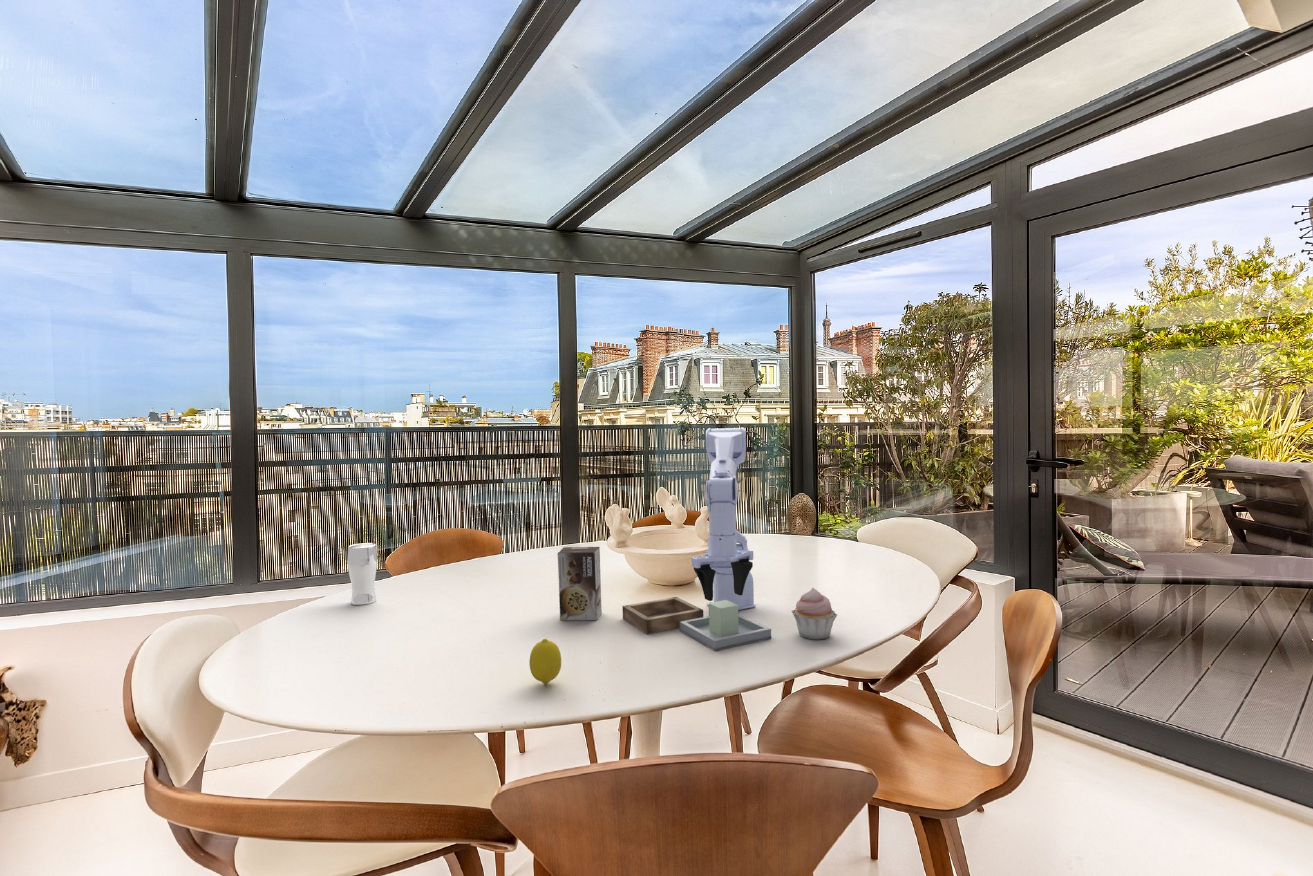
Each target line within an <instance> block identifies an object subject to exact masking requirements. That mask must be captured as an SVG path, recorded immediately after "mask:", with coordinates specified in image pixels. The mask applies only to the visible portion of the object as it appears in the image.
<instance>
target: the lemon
mask: <svg viewBox="0 0 1313 876" xmlns="http://www.w3.org/2000/svg"><path fill="white" fill-rule="evenodd" d="M529 655H530V656H529V661H528V662H529V669H530V674H531V675H532V677H533V678H534V679H535V680H537V681H538V682H541V683H542V684H544V685H548V684H549V683H550V682H551V681H553V680H554V679H556V678H557V677H558V675H559V674H560V671H561V669H562V655H561V651H560V648H559V646H558V645H557V644H556V643H555V642H553V641H551V640H549V639H547V638H543V639H542V640H541V641H538V642H537V643H536V644H535V645H534V646H533V647H532V649H531V651H530V654H529Z"/></svg>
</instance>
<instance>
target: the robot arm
mask: <svg viewBox="0 0 1313 876" xmlns="http://www.w3.org/2000/svg"><path fill="white" fill-rule="evenodd" d="M746 431H747V430H746V429H745V428H744V427H743V426H742V427H735V428H732V427H730V428H729V427H727V428H711V427H708V428H707V429H706V430H705V449H706V450H705V451H706V454H707V459H708V461H709V463H710V470H709V471H710V472H709V480H706V482H705V498H706V499H705V500H706V503H707V504H706V505H707V513H708V530H709V531H708V533H709V534H708V536H709V537H708V539H707V547H706V549H707V550H706V553H705V554H702V555H699V556H698V555H697V556H692V557H691V567H692V568H693V571H694V573H695V574H696V576H697V578H698V580H699V582H700V585H701V589H702V592H703V596H704V599H705V600H706V601H709V602H707V603H706V605H707V606H709V603H712V602H718V601H723V600H727V601H730V602H732V603H734V604H737V605H738V611H739V610H740V611H741V610H745V609H752V608H756V606H757V605H756V604H755V603H754V602H755V601H754V600H755V599H754V596H755V595H754V592H755V591H754V578H753V575H752V573H751V570H752V569H753V567H754V565H753V562H752V561H753V560H754V550H751V549H749V548H748V540H747V538H746V536H745V535H743V534H742V533H741V532H740V531H738V530H737V517H736V516H737V514H736V513H737V511H736V510H737V508H736V507H737V502H738V495H739V494H738V480H737V470H738V466H739V465H740V464H743V463H745V459H746V457H747V455H746V451H747V438H746V437H747V435H746V434H747V433H746Z"/></svg>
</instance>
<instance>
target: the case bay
mask: <svg viewBox="0 0 1313 876" xmlns="http://www.w3.org/2000/svg"><path fill="white" fill-rule="evenodd" d="M673 612H674V613H673ZM667 613H668V614H667ZM659 614H664V615H659ZM655 615H657V616H655ZM648 616H651V617H648ZM652 616H653V617H652ZM701 617H704V609H702V608H701V607H699V606H696V605H695V604H692V603H690V602H688V601H685V600H684V599H682V598H679V597H677V596H674V597H673V596H672V597H668V598H667V597H666V598H661V599H656V600H655V599H654V600H650V601H644V602H639V603H638V602H637V603H632V604H627V605H622V619H623V620H624V621H626V622H628V623H629V624H631V625H632V626H633V627H635V628H636V629H638V630H640V631H641V632H643V633H644V634H646V635H649V634H654V633H659V632H663V631H664V632H665V631H669V630H674V629H680V622H681V621H686V620H691V619H696V618H701Z"/></svg>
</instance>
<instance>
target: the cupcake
mask: <svg viewBox="0 0 1313 876" xmlns="http://www.w3.org/2000/svg"><path fill="white" fill-rule="evenodd" d="M835 612H836V611H835V610H833V608H832V604H831V602H830V599H829V598H828V597H827V596H825V595H824V594H822V593H821V592H820V591H818V590H817V589H815V588H814V587H811V589H810V590H809V591H807V592H804V594H802V595H801V596H800V599H799V600H797V602H796V604H795V609H793V610H791V613H792V615H793V617H794V619H795V623H796V626H797V627H796V628H797V630H798V634H799V635H800V636H801V637H802V638H805V639H807V640H808V639H809V640H825V639H828V638H830V636H831V633H832V629H833V626H834V625H833V624H834V621H835V620H836V618H837V616H838V613H835Z"/></svg>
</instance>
